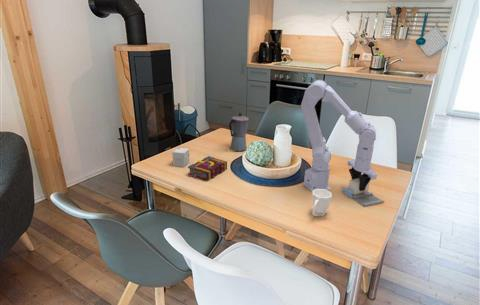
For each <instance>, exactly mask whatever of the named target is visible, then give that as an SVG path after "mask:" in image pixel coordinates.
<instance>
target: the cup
mask: <svg viewBox="0 0 480 305" xmlns="http://www.w3.org/2000/svg"><path fill="white" fill-rule="evenodd" d="M332 197H333V196H332V192H331V191H329V190H325V189H316V190H313V192H312V206H313V207H312V215H313V216H314V217H323V216H325V215H326V213H327V211H328V209H329V206H330V202H331V199H332Z"/></svg>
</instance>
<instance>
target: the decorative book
mask: <svg viewBox="0 0 480 305" xmlns="http://www.w3.org/2000/svg"><path fill="white" fill-rule="evenodd" d="M187 168H188V169H189V172H188V173H187V175H188V177H189V178H191V177H193V178H198V179H201V180H204V181H207V182H208V181H210V180H212V179H215V178H216V176H218V175H220V174H223V173H225V171H226V170H228V161H227V160H223V159H218V158H215V157H213V156H210V155H208V156H206V157H204V158H202V159H201V160H197V162H195V163H192V164H190V165H189V166H187Z"/></svg>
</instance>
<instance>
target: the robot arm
mask: <svg viewBox="0 0 480 305" xmlns="http://www.w3.org/2000/svg"><path fill="white" fill-rule="evenodd" d="M320 100H321V102H325V103H330V104H331V105H332V106H333V107H334V108H335V109H336V110H337V111H338V112H339V113H340V114H341V115H342V116H344V122H345V124H346V125H348V127H349V128H350V129H351V130H352V131H353V132H354V133H355V134H356V135H358V144H357V149H356V153H355V160H353V159H349V160H347V166H349V167H351V168H349V169H348V172H349V175H350V177H351V178H350V179H351V180H353V179H357V178H359V181H360V184H359V190H360V191H363V190H365V188H366V186H367V184H368V183H369V181H371V180H372V181H373V180H377V177H378V174H377V173H376V172H375V171H374V170H373V169H372V166H371V165H372V158H373V152H374V145H375V142H376V140H377V131H376V128H375V126H374V125H372V124H371V123H370V122H367V120H366V119H365V118H364V117H363V113H362V112H358V111H357V110H352V109H351V108H350V107H349V106H348V104H346V103H345V101H344V100H343V99H342V98H341V97H340V95H339V94H338V93H337V92H336V91H335V90H334V88H333V87H332V86H330V85H328V84H327V81H324V80H323V79H316V80H314V81H313V82H312V84H310V85H308V87H307V88H306V89H305V91H304V95H303V98H302V101H301V104H300V108H301V113H302V116H303V120H304V123H305V126H306V130H307V133H308V137H309V138H308V139H309V142H310V146H311V155H312V161H311V165H312V166H310V168H308V169H306V170H305V171H304V179H303V183H302V186H304V187H306V189H307V190H309V191H310V192H311V193H313V190H316V189H325V190H327V191H329V190H332V187H331V186H329V177H330V171H331V166H330V165H329V163H330V161H331V160H332V159H331V158H332V155H331V152H330V151H329V149H328V150H327V147H326V145H327V144H326V145H325V144H324V141H323V137H324V136H323V134H322V130H321V126H320V123H319V118H318V115H317V111H316V105H317V104H318V102H319V101H320ZM369 184H370V183H369Z"/></svg>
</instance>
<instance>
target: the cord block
mask: <svg viewBox="0 0 480 305" xmlns="http://www.w3.org/2000/svg"><path fill="white" fill-rule="evenodd" d="M370 181H371V180H370ZM370 181H369V183H368V184H367V186H366V188H365V190H363V191H360V190H359V184H360V181H359V178H357V179H353V180H352V179H350V180H349V182H348V187H347V188H348V189H349V190H350V191H352V192H353V195H357V194H360V193H366V192H369V188H370Z"/></svg>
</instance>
